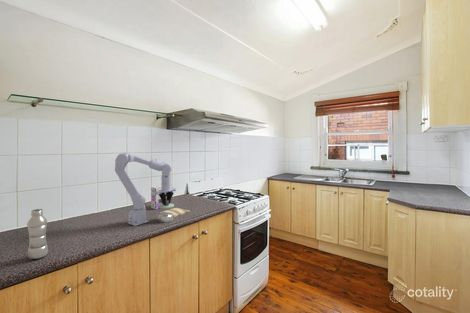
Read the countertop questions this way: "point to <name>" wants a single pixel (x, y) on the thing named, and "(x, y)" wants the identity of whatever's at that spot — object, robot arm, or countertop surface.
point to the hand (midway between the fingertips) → (166, 204)
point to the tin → (165, 217)
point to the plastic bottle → (37, 235)
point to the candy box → (155, 197)
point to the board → (176, 211)
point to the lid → (166, 205)
